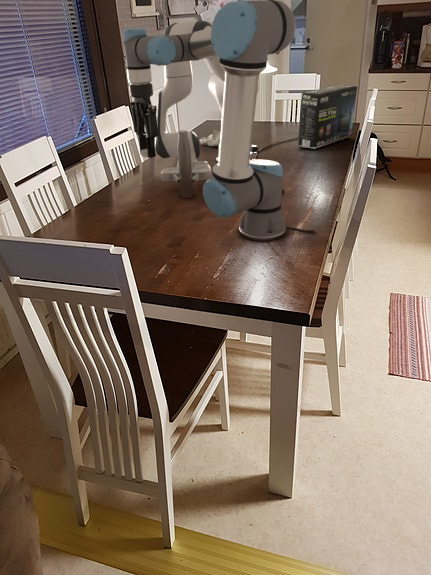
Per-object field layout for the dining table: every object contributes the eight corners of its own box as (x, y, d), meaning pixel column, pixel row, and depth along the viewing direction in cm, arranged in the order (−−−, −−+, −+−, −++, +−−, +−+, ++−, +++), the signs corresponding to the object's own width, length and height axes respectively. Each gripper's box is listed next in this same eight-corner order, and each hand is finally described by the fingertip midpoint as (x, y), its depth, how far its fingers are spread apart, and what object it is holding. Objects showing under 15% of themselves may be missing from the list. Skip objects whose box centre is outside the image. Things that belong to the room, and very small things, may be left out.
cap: (152, 153, 163) (151, 147, 162) (156, 155, 159) (156, 150, 158) (139, 154, 161) (139, 149, 160) (144, 157, 158) (143, 152, 157)
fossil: (223, 141, 238) (204, 123, 241) (212, 159, 245) (194, 141, 248) (240, 140, 252) (222, 123, 255) (230, 156, 258) (212, 139, 262)
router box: (314, 151, 231) (318, 94, 217) (296, 148, 237) (299, 92, 224) (352, 138, 251) (358, 85, 238) (335, 135, 258) (340, 83, 245)
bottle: (194, 194, 183) (190, 129, 171) (191, 198, 179) (187, 132, 166) (182, 193, 184) (177, 129, 171) (179, 198, 180) (174, 132, 167)
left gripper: (161, 163, 188) (158, 173, 176) (211, 161, 188) (211, 171, 176) (162, 178, 191) (160, 189, 179) (211, 176, 191) (212, 187, 179)
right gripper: (164, 84, 144) (171, 158, 156) (137, 79, 156) (144, 148, 168) (144, 87, 140) (152, 163, 152) (117, 82, 152) (126, 152, 164)
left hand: (186, 180), depth 178 cm, fingers closed on bottle, 5 cm apart
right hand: (148, 155), depth 160 cm, fingers closed on cap, 4 cm apart
